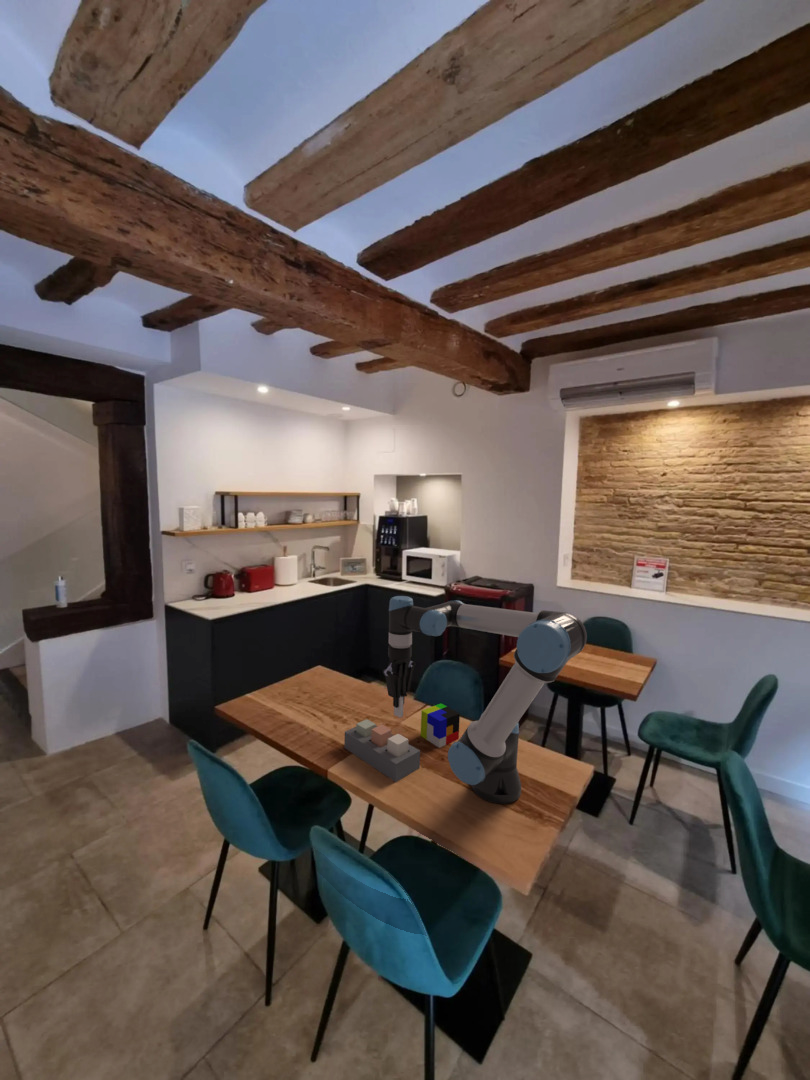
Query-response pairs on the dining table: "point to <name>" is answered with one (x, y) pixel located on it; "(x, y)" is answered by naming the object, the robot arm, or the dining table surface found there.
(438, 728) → the puzzle toy
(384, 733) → the key terracotta
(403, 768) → the console
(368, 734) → the key sage
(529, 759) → the dining table surface
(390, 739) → the key ivory
